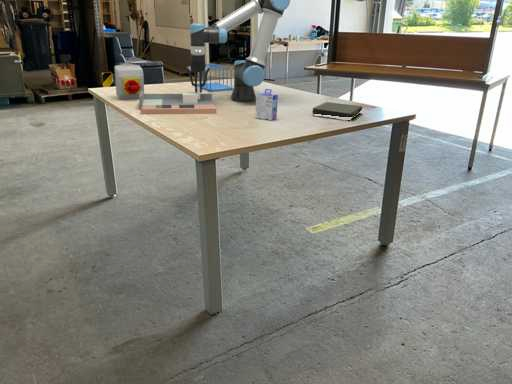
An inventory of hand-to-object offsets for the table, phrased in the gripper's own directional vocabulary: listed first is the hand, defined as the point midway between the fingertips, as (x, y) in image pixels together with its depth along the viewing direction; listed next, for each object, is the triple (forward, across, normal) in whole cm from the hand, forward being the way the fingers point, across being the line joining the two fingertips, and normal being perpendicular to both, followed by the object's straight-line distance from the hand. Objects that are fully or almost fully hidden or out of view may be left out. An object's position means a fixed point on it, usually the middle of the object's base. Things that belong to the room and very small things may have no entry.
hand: (198, 98), depth 241 cm
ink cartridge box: (+4, +32, -33) cm, 46 cm away
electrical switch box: (+5, -38, +22) cm, 45 cm away
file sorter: (+4, +14, +61) cm, 62 cm away
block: (+2, -5, 0) cm, 5 cm away
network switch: (+4, +72, -27) cm, 77 cm away
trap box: (+4, -11, -6) cm, 13 cm away
